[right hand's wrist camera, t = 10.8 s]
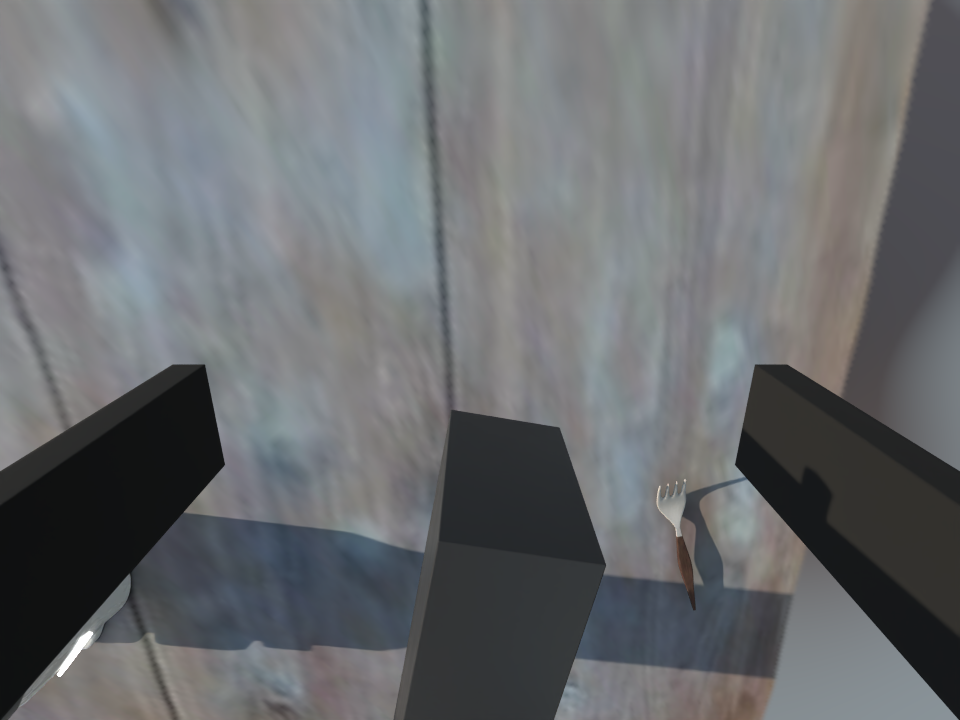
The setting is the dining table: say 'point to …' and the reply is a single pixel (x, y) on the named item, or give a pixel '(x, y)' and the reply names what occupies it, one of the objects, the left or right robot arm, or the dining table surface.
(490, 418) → the box
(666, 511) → the fork
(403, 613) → the dining table surface
